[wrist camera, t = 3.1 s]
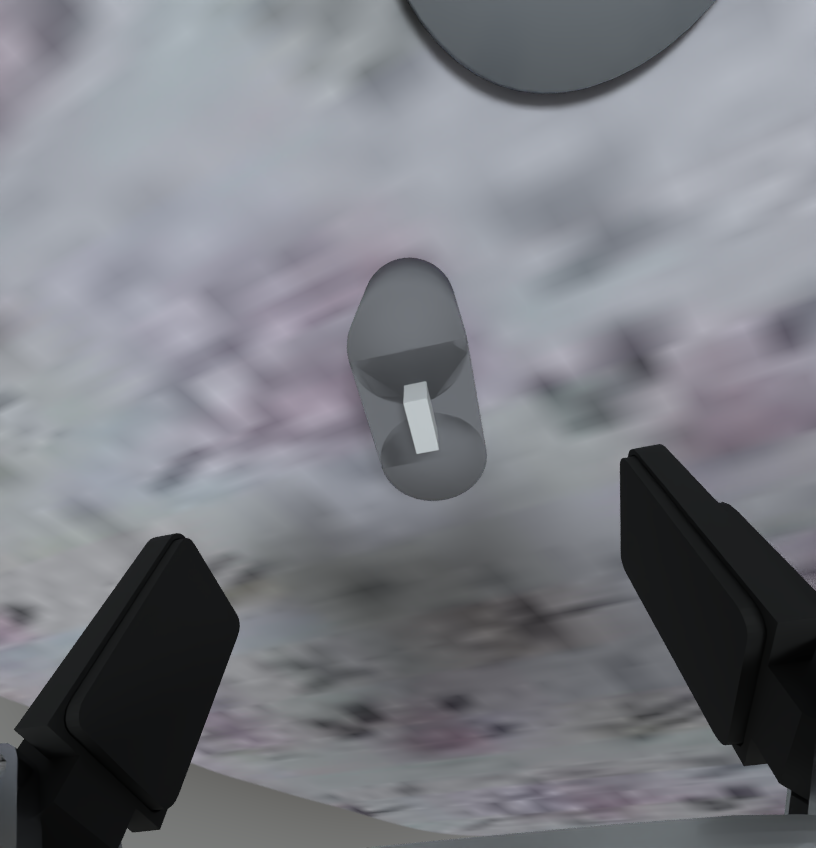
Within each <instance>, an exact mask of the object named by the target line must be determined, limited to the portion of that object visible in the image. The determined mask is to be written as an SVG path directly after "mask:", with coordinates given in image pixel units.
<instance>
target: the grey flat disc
mask: <svg viewBox="0 0 816 848" xmlns="http://www.w3.org/2000/svg"><path fill="white" fill-rule="evenodd" d="M407 1H408V3H409V4H410V6H411V8H412V9H413V11H414V13H415V14H416V16H417V17H418V19H419V21H420V22H421V24H422V25H423V26H424V27H425V29H426V30H427V31H428V32H429V34H430V35H431V36H432V37H433V39H434V40H435V41H436V42H437V44H438V45H439V46H441V47H442V48H443V49H444V50H445V51H446V52H447V53H448V54H449V55H450V56H451V57H452V58H453V59H454V60H455V61H457V62H458V63H459V64H461V65H462V66H464V67H465V68H467V69H468V70H470V71H471V72H472V73H474V74H475V75H477V76H479V77H481V78H483V79H485V80H488V81H490V82H492V83H494V84H496V85H499V86H502V87H506V88H509V89H512V90H516V91H521V92H529V93H537V94H552V93H566V92H571V91H576V90H581V89H586V88H589V87H592V86H595V85H598V84H601V83H603V82H606V81H609V80H611V79H614V78H616V77H618V76H620V75H622V74H624V73H626V72H628V71H630V70H632V69H634V68H636V67H638V66H640V65H641V64H643V63H644V62H646V61H647V60H649V59H650V58H652V57H653V56H655V55H656V54H658V53H659V52H661V51H662V50H664V49H665V48H666V47H668V46H669V45H670V44H671V43H672V42H674V41H675V40H676V39H677V38H678V37H679V36H681V35H682V34H683V33H684V32H685V31H687V30H688V29H689V28H690V27H691V26H692V25H693V24H694V23H695V22H696V21H697V20H698V18H699V17H700V16H701V15H702V14H703V13H704V12H705V11H706V10H707V9H708V8H709V7H710V6H711V5H712V4H713V3H714V1H715V0H407Z"/></svg>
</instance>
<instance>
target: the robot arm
mask: <svg viewBox="0 0 816 848" xmlns="http://www.w3.org/2000/svg"><path fill="white" fill-rule="evenodd" d="M620 519H621V559H622V563H623V567H624V569H625V572H626V574H627V576H628V577H629V579H630V581H631V583H632V585H633V586H634V588H635V590H636V592H637V594H638V596H639V597H640V599H641V601H642V603H643V605H644V607H645V608H646V610H647V612H648V614H649V616H650V617H651V619H652V621H653V623H654V625H655V627H656V628H657V630H658V632H659V634H660V636H661V638H662V639H663V641H664V643H665V645H666V647H667V649H668V650H669V652H670V654H671V656H672V658H673V659H674V661H675V663H676V665H677V667H678V669H679V670H680V672H681V674H682V676H683V678H684V680H685V681H686V683H687V685H688V687H689V689H690V690H691V692H692V694H693V696H694V698H695V700H696V701H697V703H698V705H699V707H700V709H701V711H702V712H703V714H704V716H705V718H706V720H707V722H708V723H709V725H710V727H711V729H712V731H713V732H714V734H715V736H716V737H717V739H718V740H719V741H720V742H721V743H722V744H723V745H732V746H733V748H734V750H735V751H736V753H737V755H738V757H739V758H740V760H741V762H742V764H743V765H744V766H749V765H758V764H768V765H769V767H770V769H771V770H772V772H773V774H774V775H775V777H776V779H777V780H778V782H779V783H780V784H781V785H783V786H785V787H786V788H788V789H787V796H786V804H785V812H784V815H734V816H720V817H706V818H693V819H679V820H665V821H652V822H638V823H624V824H611V825H600V826H590V827H579V828H568V829H557V830H547V831H536V832H525V833H514V834H504V835H493V836H482V837H471V838H461V839H451V840H439V841H429V842H419V843H409V844H399V845H388V846H378V847H368V848H816V591H815V590H814V589H813V588H812V587H811V586H810V585H809V584H808V583H807V582H806V581H805V580H804V579H803V578H802V577H801V576H800V575H799V574H798V572H797V571H796V570H795V569H794V568H793V567H792V566H791V565H790V564H789V563H788V562H787V561H786V560H785V559H784V558H783V557H782V556H781V555H780V554H779V553H778V552H777V551H776V550H775V549H774V548H773V547H772V546H771V545H770V544H769V543H768V542H767V541H766V540H765V539H764V538H763V537H762V536H761V535H760V534H759V533H758V532H757V531H756V530H755V529H754V528H753V527H752V526H751V525H750V524H749V523H748V522H747V521H746V519H745V518H744V517H743V516H742V515H741V514H740V513H739V512H738V511H737V510H736V509H734V508H733V507H732V506H731V505H729V504H727V503H724V502H721V503H718V502H717V501H716V500H715V499H714V498H713V497H712V496H711V495H710V494H709V493H708V492H707V490H706V489H705V488H704V487H703V486H702V485H701V484H700V483H699V482H698V481H697V480H696V479H695V478H694V477H693V476H692V475H691V474H690V473H689V471H688V470H687V469H686V468H685V467H684V466H683V465H682V464H681V463H680V462H679V461H678V460H677V459H676V458H675V457H674V456H673V455H672V454H671V452H670V451H669V450H668V449H667V448H666V447H665V446H663V445H661V444H658V445H652V446H647V447H642V448H636V449H631V450H630V451H629V454H628V457H627V458H622V459H621V461H620ZM239 628H240V624H239V618H238V616H237V614H236V612H235V611H234V609H233V607H232V606H231V604H230V602H229V601H228V599H227V597H226V596H225V594H224V592H223V591H222V589H221V587H220V586H219V584H218V583H217V581H216V579H215V578H214V576H213V574H212V573H211V571H210V569H209V568H208V566H207V564H206V563H205V561H204V559H203V558H202V556H201V554H200V553H199V551H198V549H197V548H196V546H195V544H194V543H193V542H192V540H190V539H189V538H185V537H184V536H183V535H182V534H178V533H176V534H171V535H165V536H160V537H155V538H152V539H150V540H149V541H148V542H147V544H146V545H145V547H144V548H143V549H142V551H141V552H140V554H139V555H138V556H137V558H136V559H135V561H134V562H133V563H132V565H131V566H130V568H129V569H128V570H127V572H126V573H125V575H124V576H123V577H122V579H121V580H120V582H119V583H118V584H117V586H116V587H115V589H114V590H113V591H112V593H111V594H110V596H109V597H108V598H107V600H106V601H105V603H104V604H103V605H102V607H101V608H100V610H99V611H98V612H97V614H96V615H95V617H94V618H93V619H92V621H91V622H90V624H89V625H88V627H87V628H86V629H85V631H84V632H83V634H82V635H81V636H80V638H79V639H78V641H77V642H76V643H75V645H74V646H73V648H72V649H71V650H70V652H69V653H68V655H67V656H66V657H65V659H64V660H63V662H62V663H61V664H60V666H59V667H58V669H57V670H56V671H55V673H54V674H53V676H52V677H51V678H50V680H49V681H48V683H47V684H46V685H45V687H44V688H43V690H42V691H41V692H40V694H39V695H38V697H37V698H36V699H35V701H34V702H33V704H32V705H31V706H30V708H29V709H28V711H27V712H26V713H25V715H24V716H23V718H22V719H21V721H20V722H19V723H18V725H17V726H16V727H15V729H14V730H15V731H16V732H17V733H18V734H20V735H21V736H22V737H23V738H24V740H23V741H22V743H21V744H20V746H19V747H18V749H16V748H15V747H14V746H12V745H10V744H8V743H0V848H122V844H121V841H122V838H123V836H124V834H125V832H126V829H127V828H128V829H129V830H130V831H132V832H142V831H151V830H159V829H160V828H161V825H162V823H163V820H164V817H165V815H166V812H167V809H168V808H169V807H171V806H172V805H173V804H174V802H175V801H176V799H177V797H178V795H179V792H180V790H181V787H182V784H183V781H184V779H185V776H186V773H187V771H188V768H189V765H190V763H191V760H192V757H193V755H194V752H195V749H196V747H197V744H198V741H199V738H200V736H201V733H202V730H203V728H204V725H205V722H206V720H207V717H208V714H209V712H210V709H211V706H212V703H213V701H214V698H215V695H216V693H217V690H218V687H219V685H220V682H221V679H222V677H223V674H224V671H225V669H226V666H227V663H228V660H229V658H230V655H231V652H232V650H233V647H234V644H235V642H236V639H237V636H238V633H239Z"/></svg>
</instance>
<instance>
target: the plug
mask: <svg viewBox="0 0 816 848" xmlns="http://www.w3.org/2000/svg"><path fill="white" fill-rule="evenodd" d="M347 353H348V359H349V363H350V366H351V369H352V373H353V376H354V379H355V382H356V385H357V389H358V392H359V395H360V398H361V401H362V405H363V408H364V411H365V414H366V417H367V421H368V424H369V427H370V430H371V433H372V437H373V440H374V443H375V446H376V449H377V453H378V456H379V459H380V462H381V465H382V469H383V471H384V474H385V475H386V477H387V479H388V480H389V481H390V483H391V484H392V485H393V486H394V487H395V488H397V489H398V490H399V491H401V492H402V493H404V494H406V495H408V496H410V497H413V498H416V499H421V500H428V501H438V500H445V499H450V498H453V497H456V496H458V495H460V494H462V493H464V492H465V491H467V490H468V489H470V488H471V487H472V486H473V485H474V484H475V483H476V482H477V481H478V479H479V478H480V477H481V475H482V473H483V471H484V468H485V465H486V458H487V453H486V446H485V440H484V434H483V428H482V423H481V417H480V411H479V405H478V399H477V394H476V388H475V382H474V376H473V370H472V365H471V359H470V353H469V347H468V341H467V336H466V332H465V328H464V325H463V322H462V318H461V315H460V312H459V308H458V305H457V302H456V298H455V295H454V292H453V289H452V286H451V284H450V282H449V280H448V278H447V277H446V276H445V274H444V273H443V272H442V271H441V270H440V269H439V268H437V267H436V266H435V265H433V264H431V263H429V262H427V261H425V260H421V259H417V258H402V259H397V260H394V261H391V262H389V263H387V264H386V265H384V266H383V267H381V268H380V269H379V270H378V271H377V272H376V273H375V274H374V275H373V277H372V278H371V280H370V281H369V283H368V285H367V288H366V290H365V292H364V295H363V297H362V300H361V302H360V305H359V307H358V310H357V312H356V315H355V317H354V319H353V322H352V324H351V327H350V330H349V333H348V339H347Z"/></svg>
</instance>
